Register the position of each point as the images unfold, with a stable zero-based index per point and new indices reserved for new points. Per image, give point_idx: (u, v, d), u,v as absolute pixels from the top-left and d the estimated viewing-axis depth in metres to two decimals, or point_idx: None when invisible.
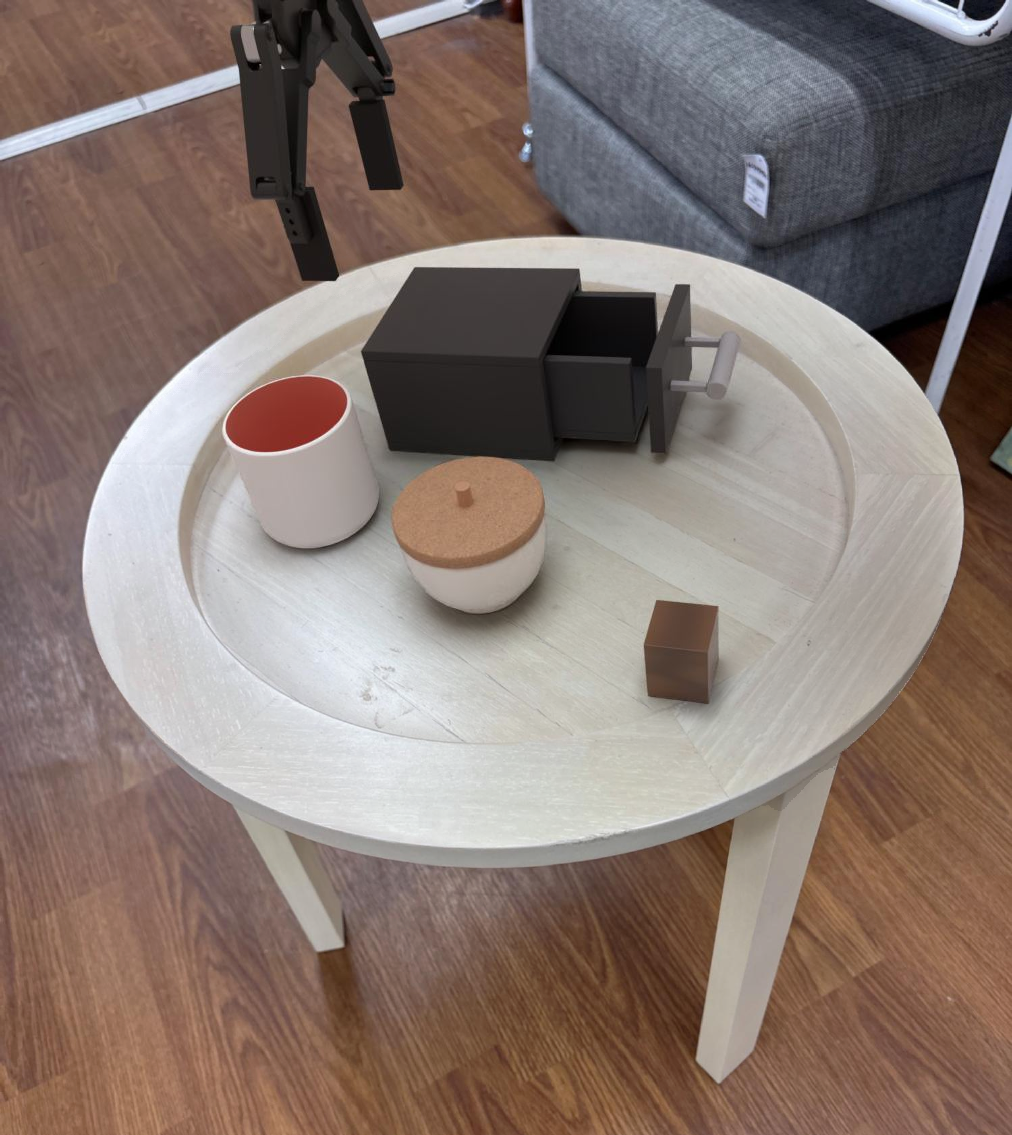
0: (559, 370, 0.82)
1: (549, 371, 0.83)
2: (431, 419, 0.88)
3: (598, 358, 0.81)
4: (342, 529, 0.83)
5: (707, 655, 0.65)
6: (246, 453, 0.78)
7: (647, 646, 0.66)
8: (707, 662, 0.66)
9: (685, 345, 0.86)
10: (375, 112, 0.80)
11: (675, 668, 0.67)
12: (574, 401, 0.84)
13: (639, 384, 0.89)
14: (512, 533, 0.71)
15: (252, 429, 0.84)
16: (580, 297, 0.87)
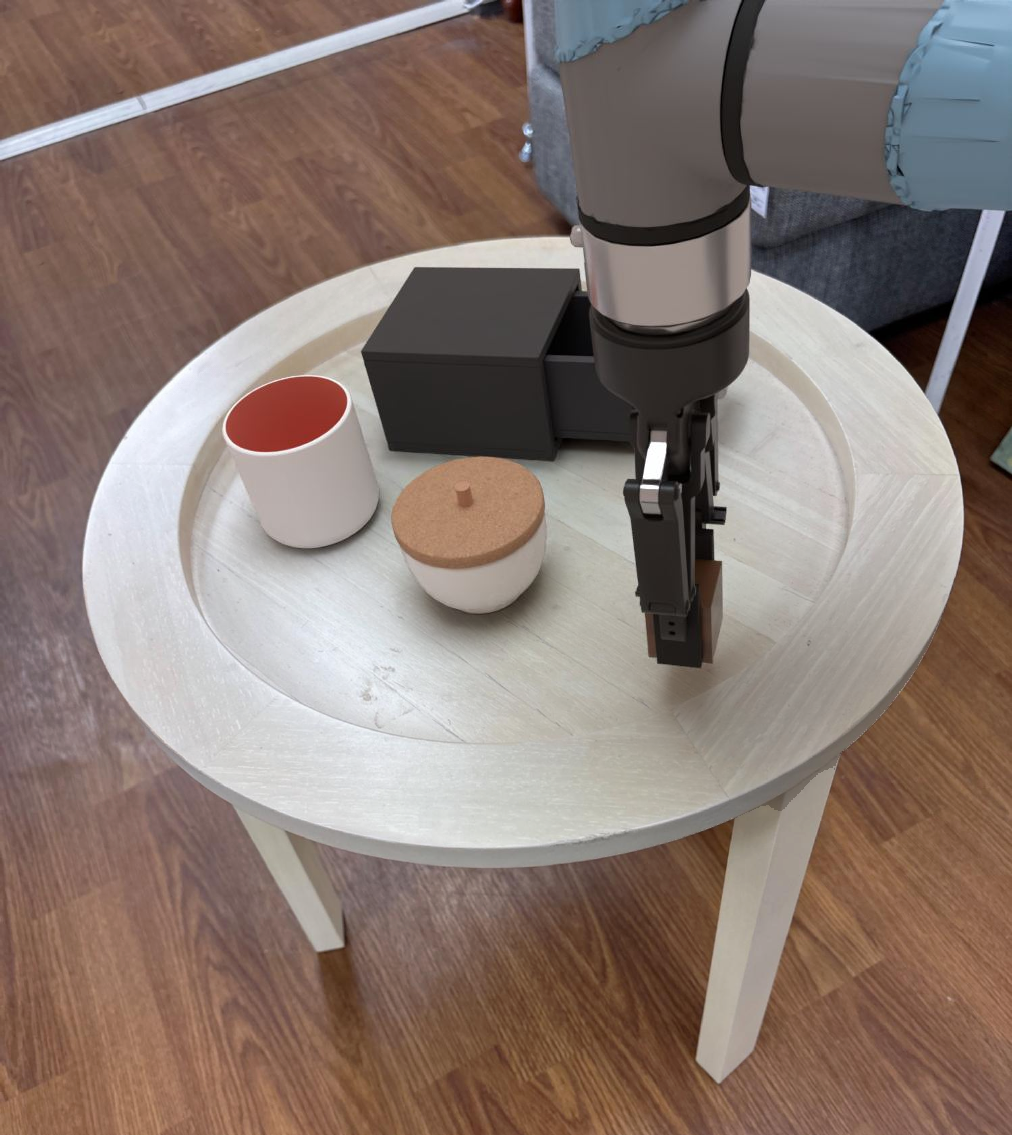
0: (559, 370, 0.82)
1: (549, 371, 0.83)
2: (431, 419, 0.88)
3: None
4: (342, 529, 0.83)
5: (710, 611, 0.62)
6: (246, 453, 0.78)
7: None
8: (710, 618, 0.63)
9: None
10: (701, 544, 0.64)
11: None
12: (574, 401, 0.84)
13: None
14: (512, 533, 0.71)
15: (252, 429, 0.84)
16: (580, 297, 0.87)
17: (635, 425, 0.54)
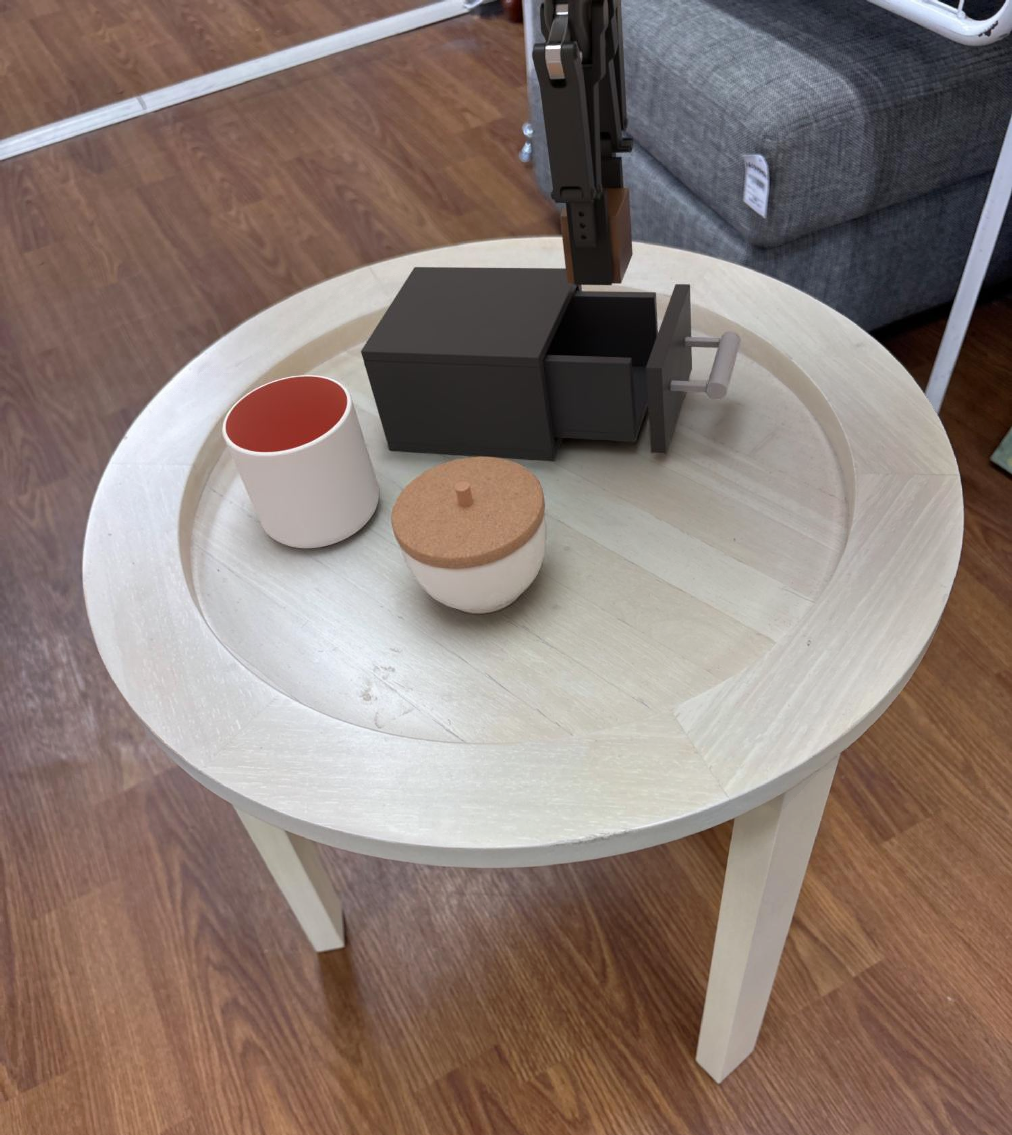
0: (559, 370, 0.82)
1: (549, 371, 0.83)
2: (431, 419, 0.88)
3: (598, 358, 0.81)
4: (342, 529, 0.83)
5: (616, 220, 0.72)
6: (246, 453, 0.78)
7: (563, 217, 0.73)
8: (617, 229, 0.73)
9: (685, 345, 0.86)
10: (611, 170, 0.74)
11: None
12: (574, 401, 0.84)
13: (639, 384, 0.89)
14: (512, 533, 0.71)
15: (252, 429, 0.84)
16: (580, 297, 0.87)
17: None
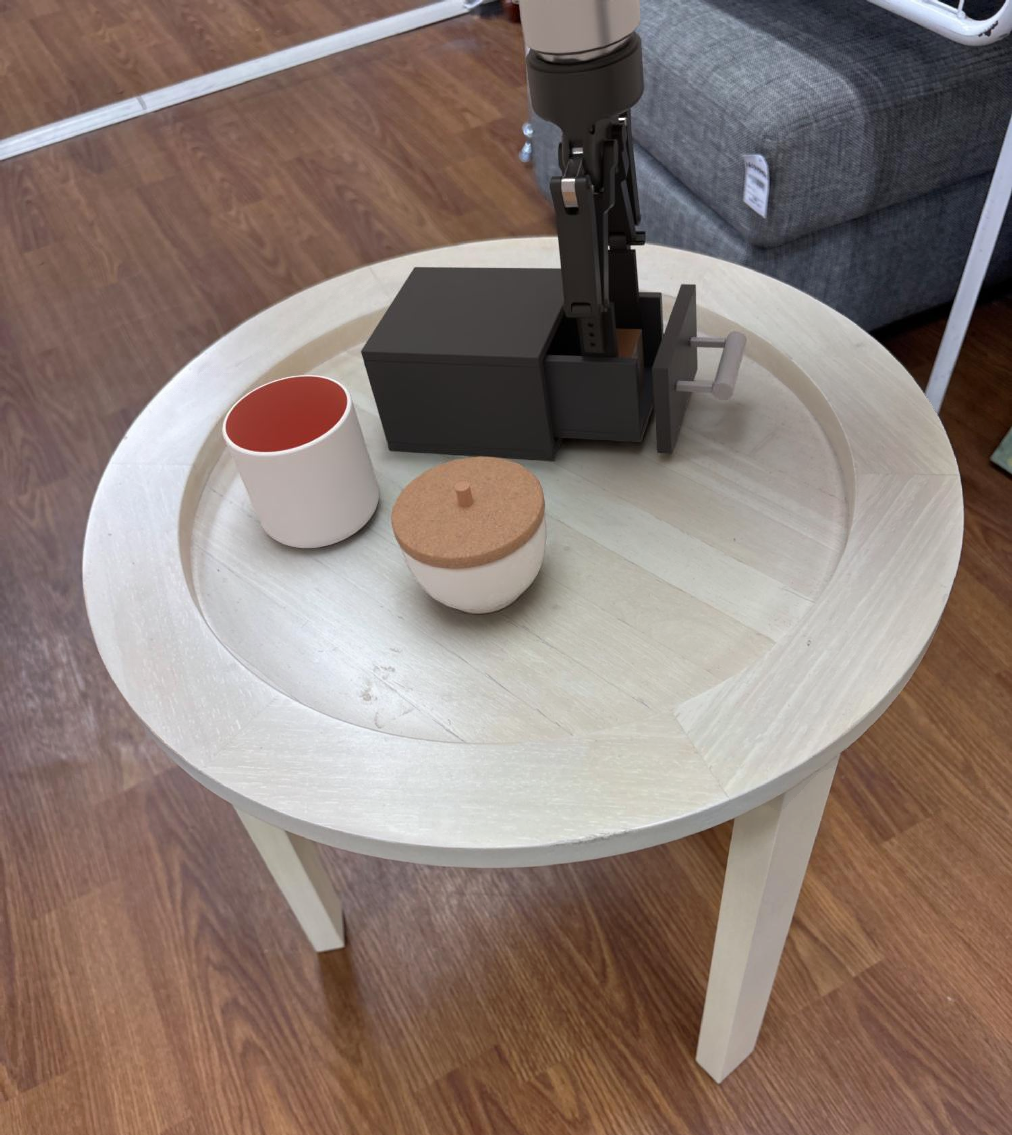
0: (565, 371, 0.82)
1: (555, 371, 0.82)
2: (431, 419, 0.88)
3: (604, 358, 0.81)
4: (342, 529, 0.83)
5: None
6: (246, 453, 0.78)
7: None
8: None
9: (691, 345, 0.86)
10: (626, 261, 0.83)
11: None
12: (579, 401, 0.84)
13: (644, 384, 0.89)
14: (512, 533, 0.71)
15: (252, 429, 0.84)
16: None
17: None
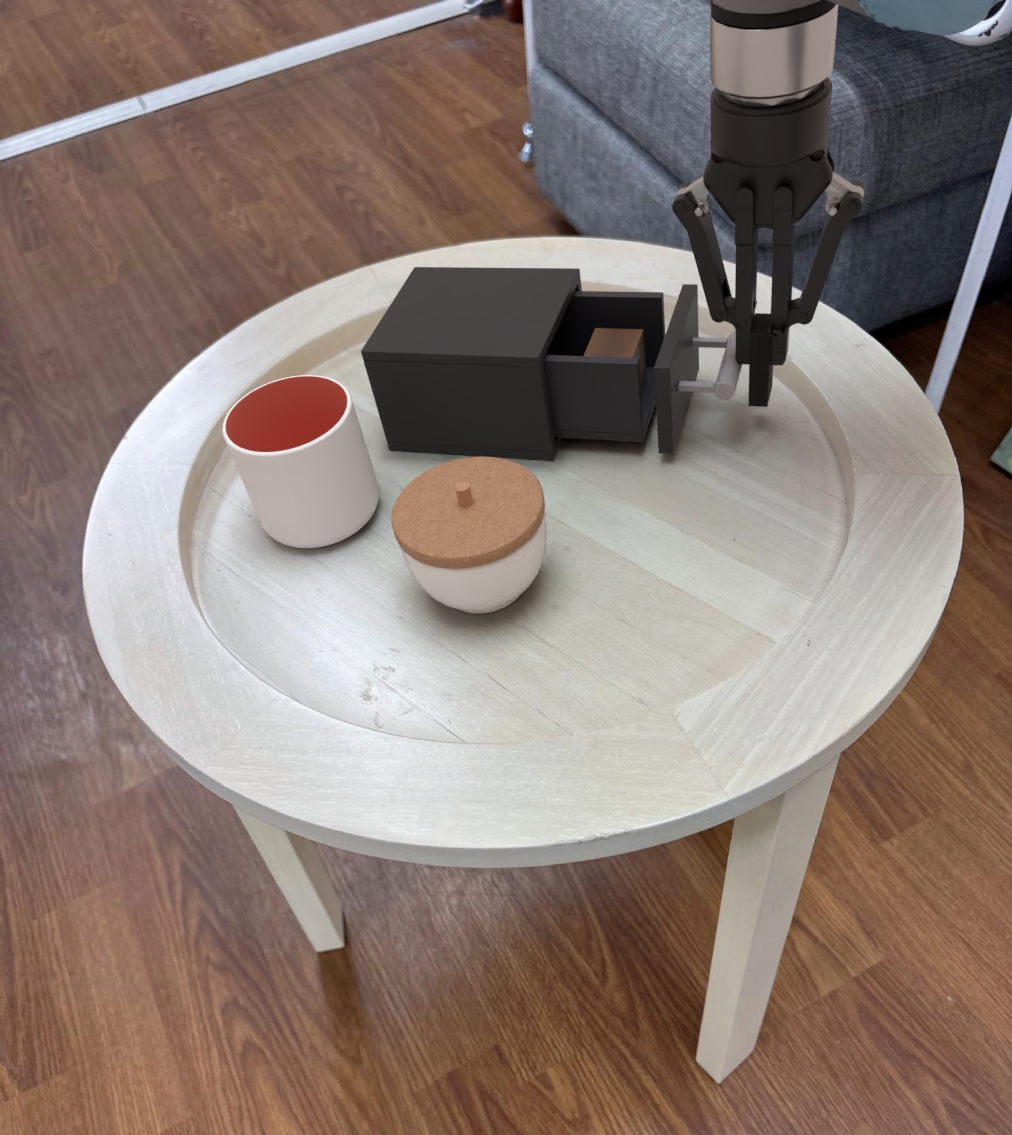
0: (567, 371, 0.82)
1: (556, 371, 0.82)
2: (431, 419, 0.88)
3: (606, 358, 0.81)
4: (342, 529, 0.83)
5: None
6: (246, 453, 0.78)
7: None
8: None
9: (692, 345, 0.86)
10: None
11: None
12: (581, 401, 0.84)
13: (646, 384, 0.89)
14: (512, 533, 0.71)
15: (252, 429, 0.84)
16: (587, 297, 0.87)
17: None
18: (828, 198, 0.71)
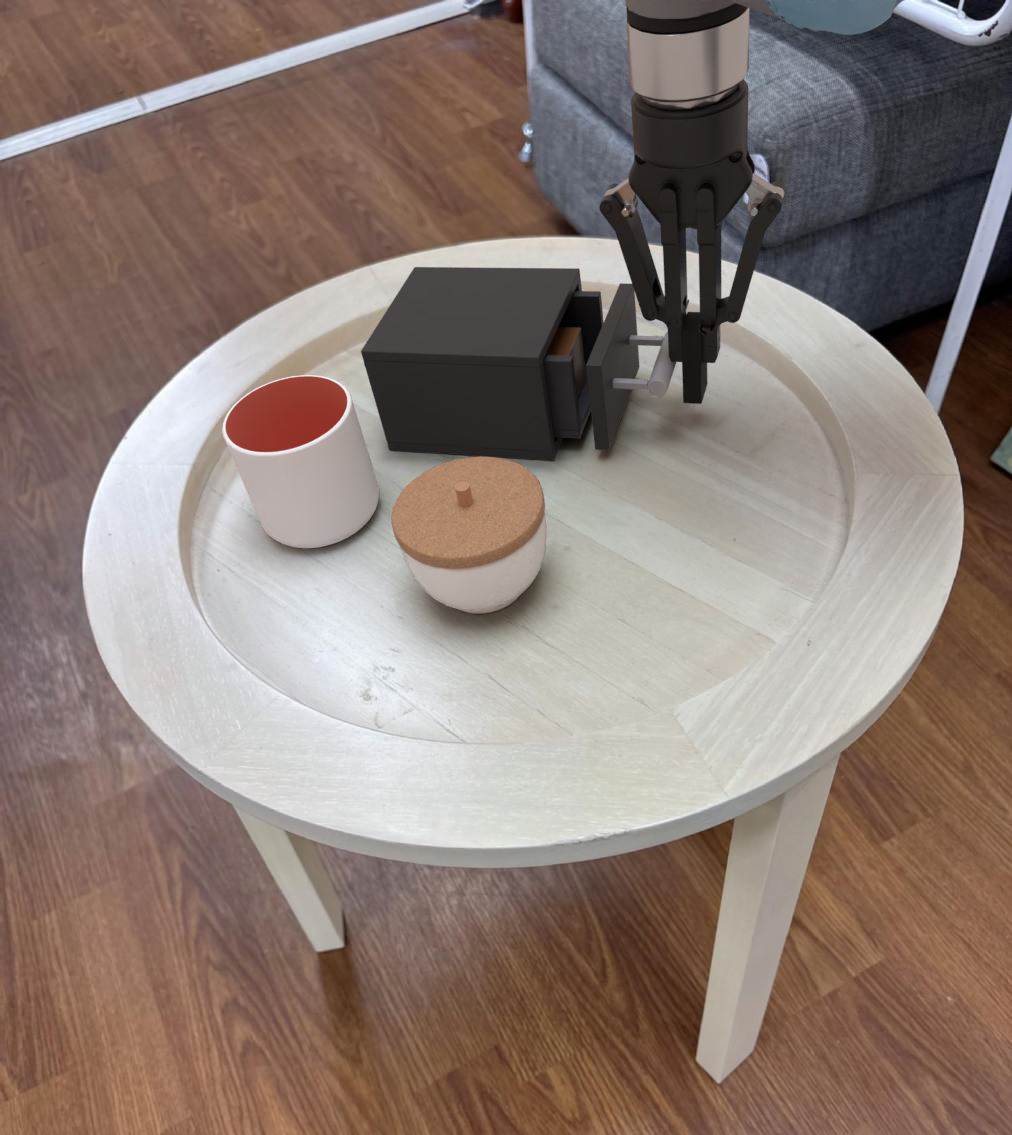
0: None
1: None
2: (431, 419, 0.88)
3: None
4: (342, 529, 0.83)
5: None
6: (246, 453, 0.78)
7: None
8: None
9: (630, 343, 0.88)
10: None
11: None
12: None
13: (586, 382, 0.90)
14: (512, 533, 0.71)
15: (252, 429, 0.84)
16: None
17: None
18: (749, 199, 0.73)
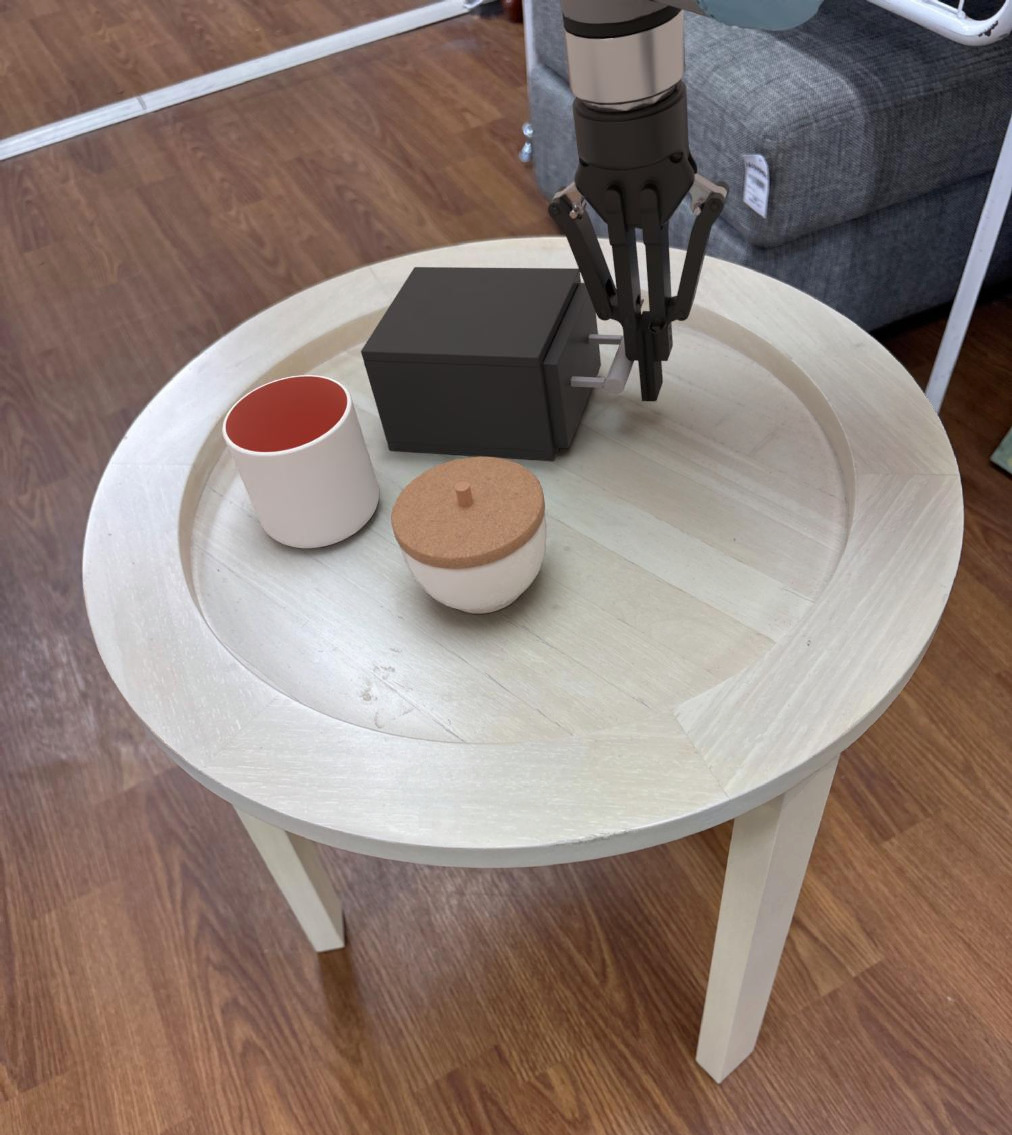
0: None
1: None
2: (431, 419, 0.88)
3: None
4: (342, 529, 0.83)
5: None
6: (246, 453, 0.78)
7: None
8: None
9: (589, 342, 0.89)
10: None
11: None
12: None
13: None
14: (512, 533, 0.71)
15: (252, 429, 0.84)
16: None
17: None
18: (693, 198, 0.74)
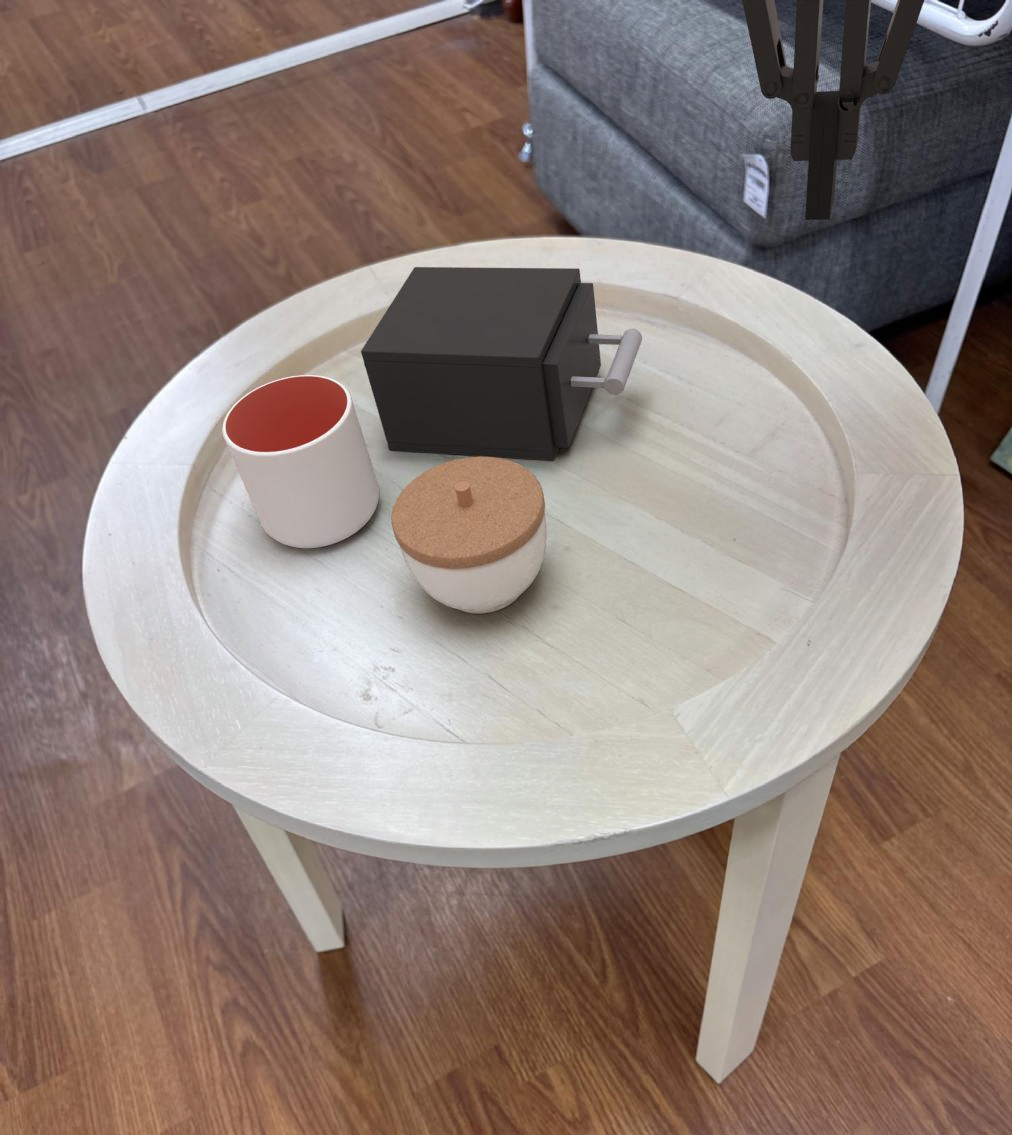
0: None
1: None
2: (431, 419, 0.88)
3: None
4: (342, 529, 0.83)
5: None
6: (246, 453, 0.78)
7: None
8: None
9: (589, 342, 0.89)
10: None
11: None
12: None
13: None
14: (512, 533, 0.71)
15: (252, 429, 0.84)
16: None
17: None
18: None
